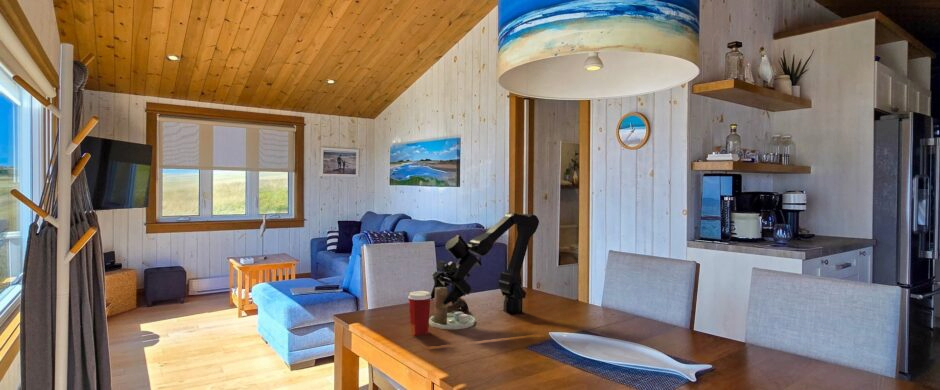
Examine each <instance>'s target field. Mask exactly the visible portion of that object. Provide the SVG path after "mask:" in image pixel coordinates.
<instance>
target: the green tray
mask: <svg viewBox="0 0 940 390" xmlns="http://www.w3.org/2000/svg"><path fill="white" fill-rule="evenodd" d="M468 315H469V323H466V324H461V323H459V321H455V320H454V312H450V313H447V324H446V325H441V324H437V323H434V315H431V316H430V317H429V325H430V326H431V327H433V328H436V329H441V330H460V329H467V328H470V327H473V326H474V325H475V323H476V318H475V317H474V316H472V315H470V314H468Z"/></svg>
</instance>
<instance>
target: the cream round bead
mask: <svg viewBox="0 0 940 390" xmlns="http://www.w3.org/2000/svg"><path fill="white" fill-rule="evenodd" d="M469 315H470V314H465V313H464V314H461V315H459V323H461V324H466V323H469Z"/></svg>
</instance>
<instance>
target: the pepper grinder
mask: <svg viewBox="0 0 940 390" xmlns="http://www.w3.org/2000/svg"><path fill="white" fill-rule="evenodd" d="M448 290H449V289H448V287H436V288H435V298H434V315H433V316H434V323H437V324H441V325H446V324H447V306H448V304H446V305H444V304H443V302H444V300H445V298H446V297H447V295H448V293H449V292H448Z"/></svg>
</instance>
